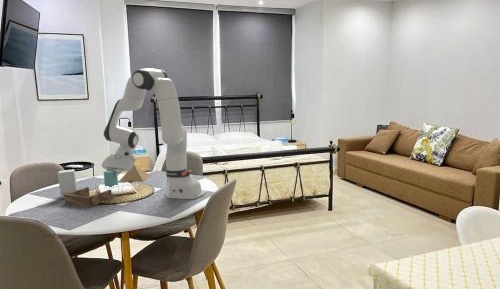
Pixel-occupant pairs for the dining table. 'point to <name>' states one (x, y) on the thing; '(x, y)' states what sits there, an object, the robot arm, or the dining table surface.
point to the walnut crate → (81, 197)
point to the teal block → (110, 178)
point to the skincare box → (67, 181)
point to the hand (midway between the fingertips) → (111, 175)
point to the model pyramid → (135, 175)
